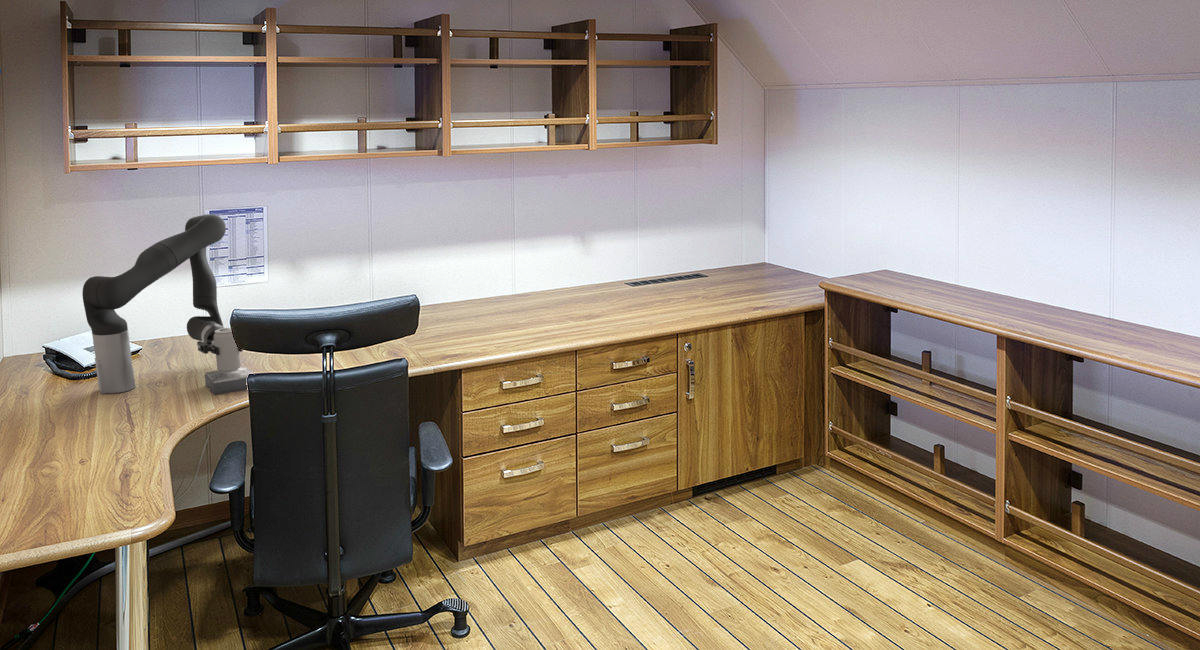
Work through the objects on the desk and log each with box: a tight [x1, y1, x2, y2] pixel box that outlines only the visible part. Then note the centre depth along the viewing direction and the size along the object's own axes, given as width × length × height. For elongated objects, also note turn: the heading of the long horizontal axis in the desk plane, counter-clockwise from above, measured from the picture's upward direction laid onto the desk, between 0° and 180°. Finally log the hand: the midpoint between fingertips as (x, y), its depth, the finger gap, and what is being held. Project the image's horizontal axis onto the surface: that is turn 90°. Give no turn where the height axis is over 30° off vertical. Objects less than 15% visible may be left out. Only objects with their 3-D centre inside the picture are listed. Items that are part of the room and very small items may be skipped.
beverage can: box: [214, 327, 242, 372], centre depth 275 cm, size 6×6×12 cm
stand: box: [204, 366, 254, 396], centre depth 277 cm, size 12×12×4 cm
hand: (229, 349), depth 273 cm, fingers closed on beverage can, 6 cm apart
